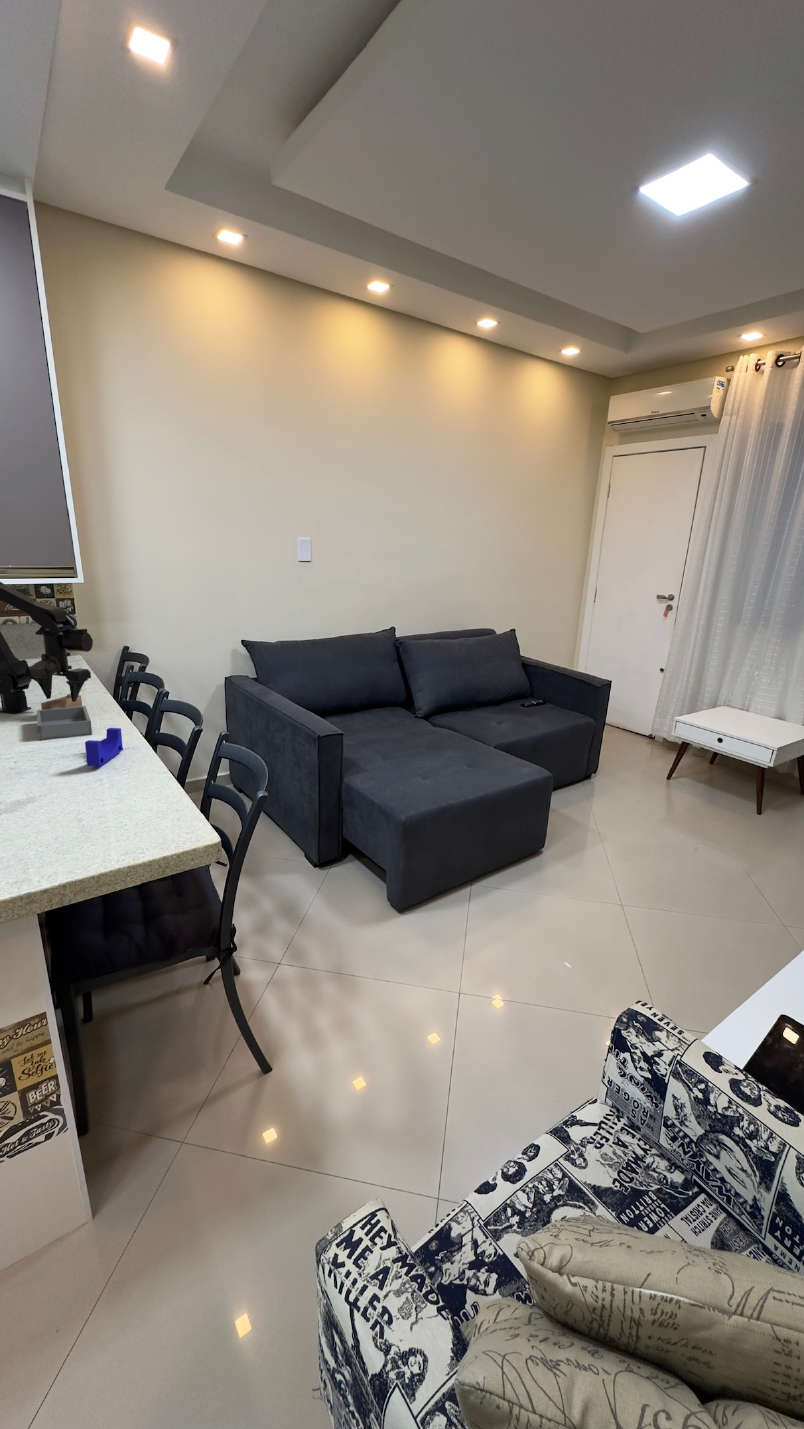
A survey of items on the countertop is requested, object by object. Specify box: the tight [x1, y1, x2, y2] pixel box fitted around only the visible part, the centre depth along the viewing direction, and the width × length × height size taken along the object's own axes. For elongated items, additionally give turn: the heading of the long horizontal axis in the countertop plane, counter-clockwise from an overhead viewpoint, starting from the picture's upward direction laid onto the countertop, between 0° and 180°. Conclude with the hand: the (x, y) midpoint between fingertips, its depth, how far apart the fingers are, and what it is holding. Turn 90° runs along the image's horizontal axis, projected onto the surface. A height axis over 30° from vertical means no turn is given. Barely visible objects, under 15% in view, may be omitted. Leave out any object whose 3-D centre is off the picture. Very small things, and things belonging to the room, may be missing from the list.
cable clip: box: [84, 727, 124, 767], centre depth 146 cm, size 12×4×6 cm, turn 0°
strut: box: [40, 693, 83, 710], centre depth 181 cm, size 4×12×6 cm, turn 166°
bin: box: [36, 705, 93, 741], centre depth 167 cm, size 18×13×4 cm
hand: (61, 700), depth 180 cm, fingers open, 9 cm apart
